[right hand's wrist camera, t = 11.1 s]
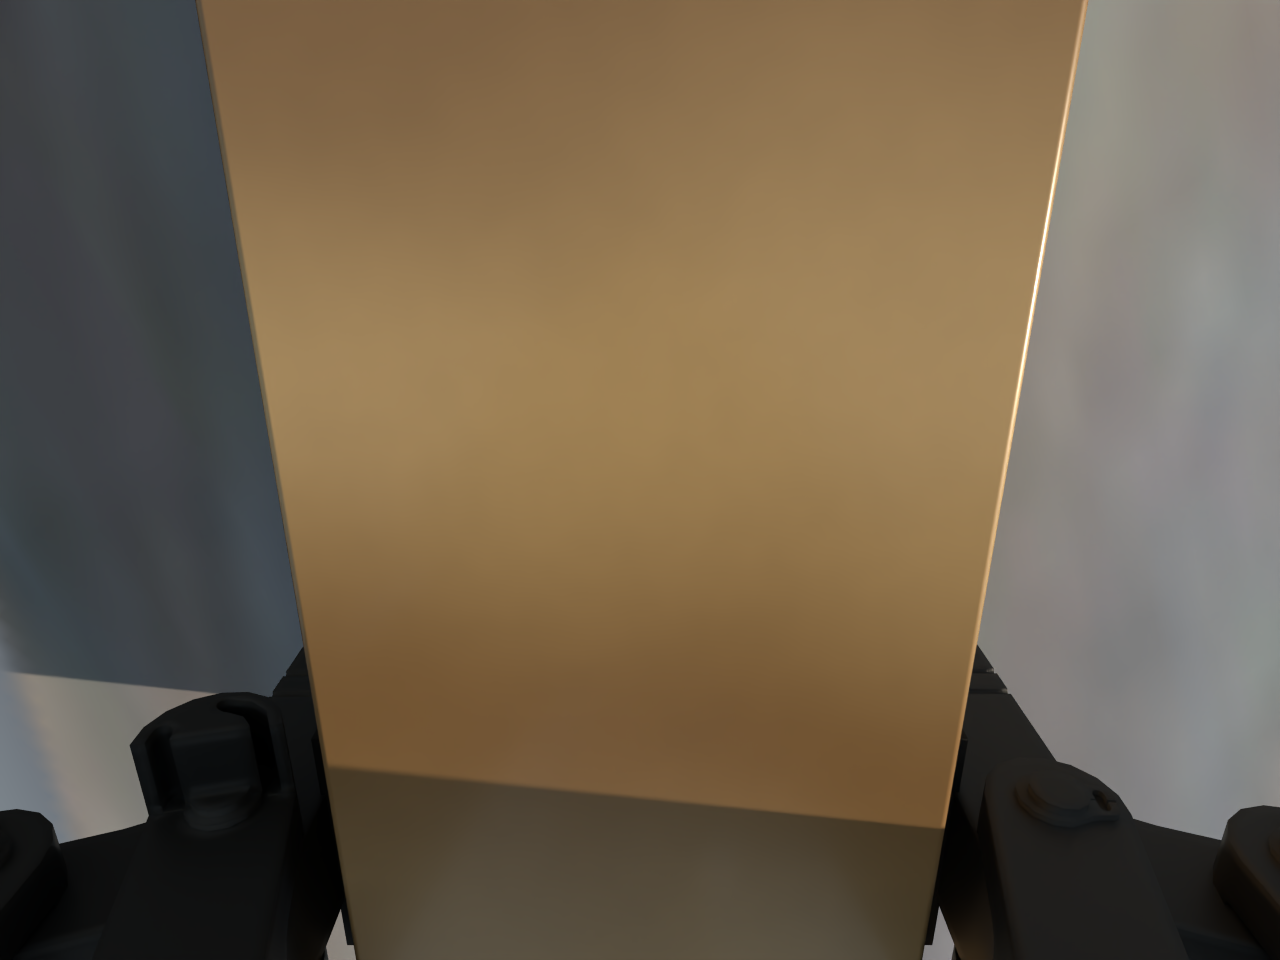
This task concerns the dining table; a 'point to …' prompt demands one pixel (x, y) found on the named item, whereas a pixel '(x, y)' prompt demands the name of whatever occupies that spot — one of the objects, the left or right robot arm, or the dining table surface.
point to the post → (640, 444)
